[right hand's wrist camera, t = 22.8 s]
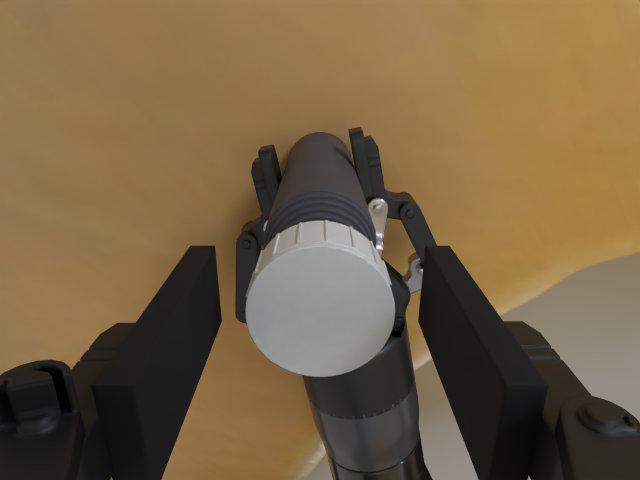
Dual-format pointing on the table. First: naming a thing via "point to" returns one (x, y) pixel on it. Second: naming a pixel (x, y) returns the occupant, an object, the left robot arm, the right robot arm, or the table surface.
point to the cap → (320, 300)
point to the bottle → (320, 189)
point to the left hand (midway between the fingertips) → (310, 140)
